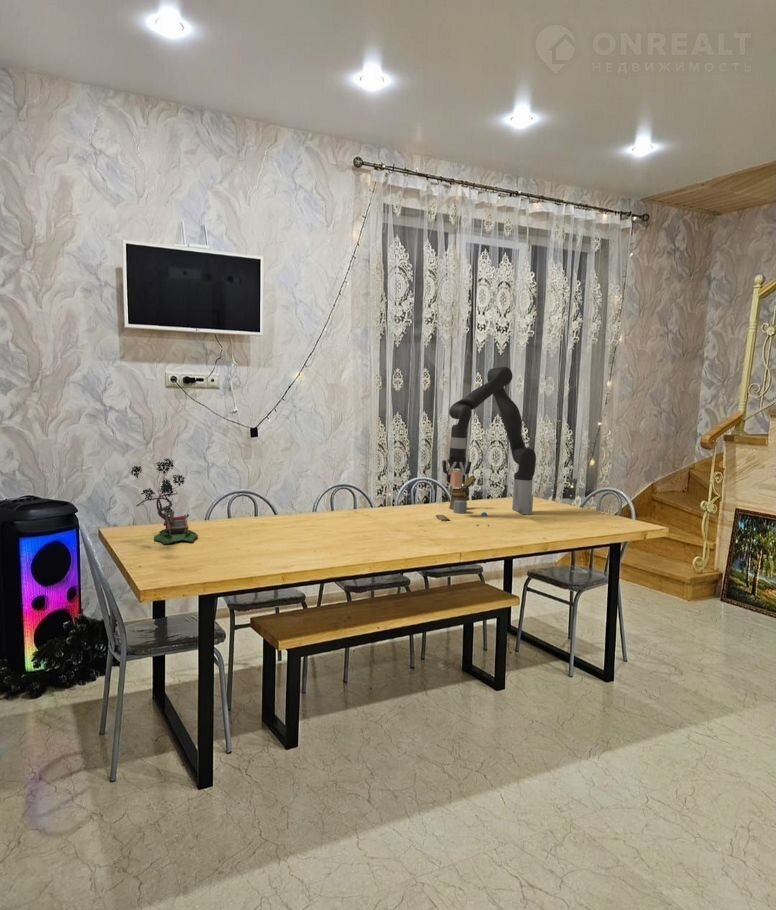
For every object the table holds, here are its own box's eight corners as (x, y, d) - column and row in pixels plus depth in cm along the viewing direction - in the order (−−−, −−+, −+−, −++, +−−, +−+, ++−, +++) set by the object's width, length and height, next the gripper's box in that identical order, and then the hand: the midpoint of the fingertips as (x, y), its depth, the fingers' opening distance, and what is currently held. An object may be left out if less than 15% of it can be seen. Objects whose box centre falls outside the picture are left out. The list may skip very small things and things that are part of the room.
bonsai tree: (127, 534, 278) (127, 454, 275) (190, 530, 290) (190, 453, 287) (142, 555, 248) (142, 466, 244) (212, 549, 260) (213, 464, 256)
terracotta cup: (459, 485, 335) (460, 470, 334) (463, 487, 329) (464, 472, 329) (447, 484, 334) (448, 469, 333) (450, 486, 328) (451, 471, 327)
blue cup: (463, 514, 347) (464, 500, 346) (467, 516, 341) (468, 502, 340) (452, 514, 345) (452, 500, 345) (455, 516, 340) (456, 502, 339)
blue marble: (486, 517, 340) (486, 511, 340) (488, 519, 337) (488, 512, 337) (480, 517, 339) (480, 511, 339) (482, 519, 336) (482, 512, 336)
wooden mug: (477, 512, 354) (479, 476, 352) (454, 513, 348) (456, 477, 346) (467, 508, 362) (469, 474, 360) (444, 510, 355) (446, 474, 353)
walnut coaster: (456, 517, 339) (456, 514, 338) (462, 521, 329) (462, 518, 329) (435, 517, 337) (436, 514, 337) (441, 521, 327) (441, 518, 327)
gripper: (470, 446, 335) (467, 482, 337) (440, 445, 332) (438, 481, 334) (475, 448, 328) (472, 484, 329) (445, 447, 325) (442, 483, 327)
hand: (455, 482), depth 332 cm, fingers closed on terracotta cup, 5 cm apart
